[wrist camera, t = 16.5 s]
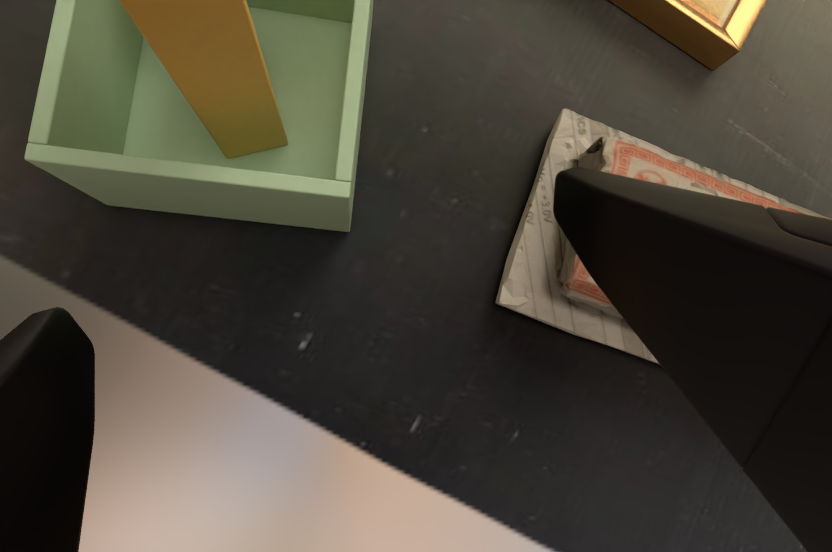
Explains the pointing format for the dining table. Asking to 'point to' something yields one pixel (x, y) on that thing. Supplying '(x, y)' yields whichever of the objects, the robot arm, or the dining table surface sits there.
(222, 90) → the mustard yellow box
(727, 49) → the picture frame
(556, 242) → the packaged product
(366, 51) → the open storage bin
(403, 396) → the dining table surface
